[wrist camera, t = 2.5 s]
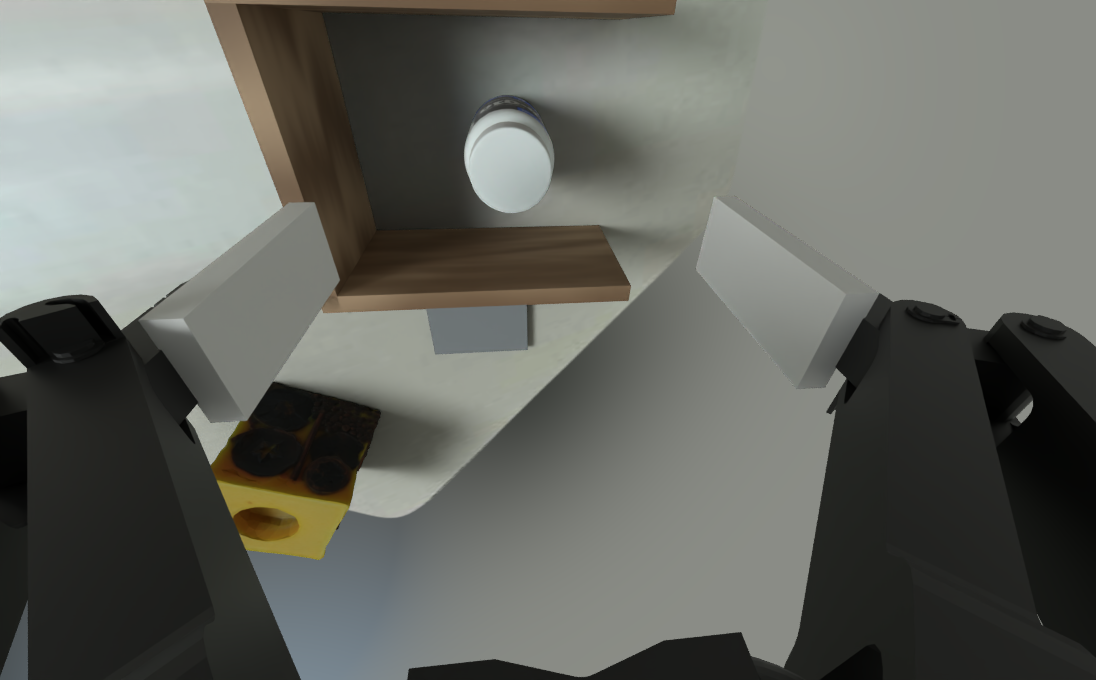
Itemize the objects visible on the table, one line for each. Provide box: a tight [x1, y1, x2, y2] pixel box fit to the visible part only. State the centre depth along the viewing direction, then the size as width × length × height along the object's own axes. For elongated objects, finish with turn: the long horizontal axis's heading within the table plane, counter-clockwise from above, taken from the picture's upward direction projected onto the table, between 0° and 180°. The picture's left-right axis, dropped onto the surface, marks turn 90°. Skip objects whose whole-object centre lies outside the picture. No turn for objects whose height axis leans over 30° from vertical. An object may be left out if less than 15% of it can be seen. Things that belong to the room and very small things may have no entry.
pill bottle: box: [464, 95, 554, 213], centre depth 23 cm, size 5×5×8 cm
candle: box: [211, 383, 381, 560], centre depth 36 cm, size 10×10×10 cm
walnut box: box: [204, 0, 676, 313], centre depth 22 cm, size 14×17×9 cm
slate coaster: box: [427, 305, 528, 354], centre depth 33 cm, size 8×8×1 cm
